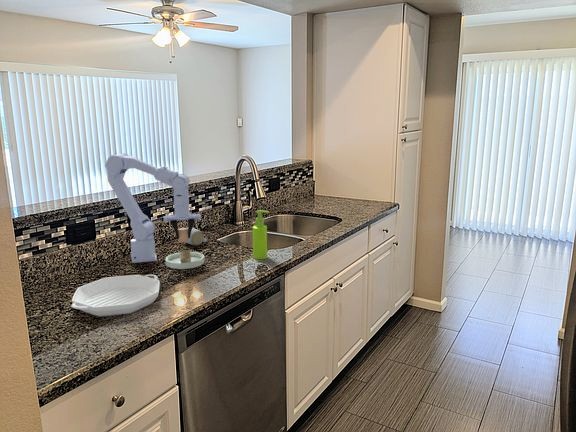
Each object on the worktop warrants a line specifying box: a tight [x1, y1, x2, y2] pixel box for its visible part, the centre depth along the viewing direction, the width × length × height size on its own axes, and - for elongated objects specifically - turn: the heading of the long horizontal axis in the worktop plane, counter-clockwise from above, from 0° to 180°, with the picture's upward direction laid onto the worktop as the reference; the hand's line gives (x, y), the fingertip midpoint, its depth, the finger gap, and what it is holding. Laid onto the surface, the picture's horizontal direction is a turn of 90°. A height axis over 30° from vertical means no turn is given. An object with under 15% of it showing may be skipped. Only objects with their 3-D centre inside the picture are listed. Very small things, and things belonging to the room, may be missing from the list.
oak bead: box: [180, 250, 192, 263], centre depth 177 cm, size 4×4×5 cm
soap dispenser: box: [252, 209, 270, 260], centre depth 185 cm, size 6×7×20 cm
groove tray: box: [165, 251, 205, 270], centre depth 181 cm, size 15×15×2 cm
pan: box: [70, 274, 161, 318], centre depth 143 cm, size 31×26×4 cm
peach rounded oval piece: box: [177, 227, 189, 243], centre depth 182 cm, size 4×4×5 cm
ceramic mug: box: [184, 226, 208, 247], centre depth 207 cm, size 11×8×8 cm
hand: (183, 237), depth 182 cm, fingers closed on peach rounded oval piece, 4 cm apart
